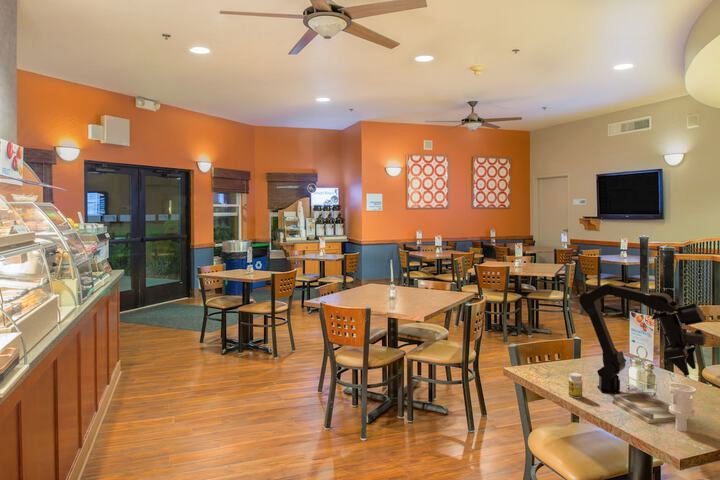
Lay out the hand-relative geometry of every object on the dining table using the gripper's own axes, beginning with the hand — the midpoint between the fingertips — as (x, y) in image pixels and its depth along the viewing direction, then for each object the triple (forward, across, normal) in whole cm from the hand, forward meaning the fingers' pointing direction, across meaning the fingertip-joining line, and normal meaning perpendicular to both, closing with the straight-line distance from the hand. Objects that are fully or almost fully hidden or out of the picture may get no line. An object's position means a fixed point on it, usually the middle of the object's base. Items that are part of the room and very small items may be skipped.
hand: (691, 372), depth 172 cm
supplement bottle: (0, -15, +37) cm, 39 cm away
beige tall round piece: (+14, -18, +4) cm, 23 cm away
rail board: (+9, -11, +15) cm, 20 cm away
